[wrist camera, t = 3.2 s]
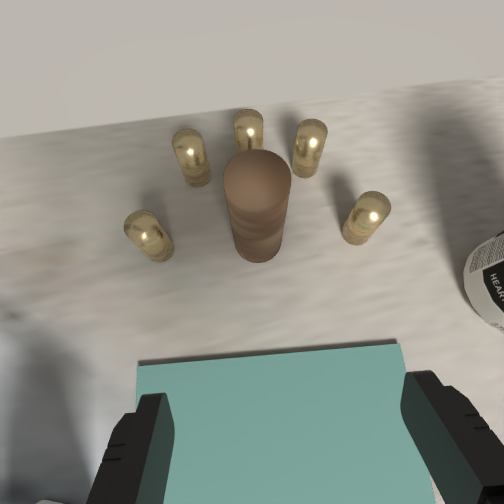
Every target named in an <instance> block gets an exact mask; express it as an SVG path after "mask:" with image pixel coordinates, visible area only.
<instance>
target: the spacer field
mask: <svg viewBox="0 0 504 504" xmlns="http://www.w3.org/2000/svg"><path fill="white" fill-rule="evenodd" d="M234 130H235V140H236V150H237V155H238V154H240V153H242V152H244V151H248V150H253V149H262V150H263V117H262V115H261V114H260V113H259V112H258V111H256V110H253V109H245V110H242V111H240V112H238V113H237V114H236V115H235V117H234ZM327 133H328V130H327V127H326V125H325V124H324V123H323V122H321V121H320V120H317V119H307V120H304V121H302V122H301V123H300V124H299V126H298V129H297V135H296V141H295V148H294V154H293V161H292V171H293V172H294V174H295V175H296V176H298V177H301V178H309V177H312V176H313V175H314V174H315V173H316V171H317V168H318V165H319V161H320V158H321V154H322V151H323V147H324V144H325V140H326V137H327ZM172 145H173V148H174V151H175V153H176V156H177V158H178V161H179V164H180V166H181V169H182V171H183V174H184V177H185V179H186V181H187V183H188V184H189V185H191V186H193V187H202V186H204V185H206V184H207V183H208V182H209V180H210V178H211V173H210V169H209V165H208V161H207V156H206V152H205V148H204V144H203V140H202V137H201V135H200V133H199V132H197V131H196V130H193V129H184V130H181V131H179V132H177V133H176V134H175V135H174V137H173V139H172ZM390 211H391V204H390V201H389V200H388V198H387V197H386V196H385V195H384V194H382V193H380V192H377V191H368V192H365V193H364V194H362V195H361V196H360V197H359V199H358V201H357V203H356V204H355V206H354V208H353V210H352V211H351V213H350V215H349V216H348V218H347V220H346V222H345V223H344V225H343V227H342V236H343V238H344V239H345V241H346V242H348V243H349V244H352V245H362V244H364V243H365V242H366V241H367V240H368V239H369V238H370V237H371V236H372V234H373V233H374V232H375V231H376V229H377V228H378V227H379V226H380V225H381V223H382V222H383V221H384V220H385V219H386V217H387V216H388V215H389V213H390ZM124 231H125V234H126V235H127V236H128V237H129V238H130V239H131V240H132V241H133V242H134V243H135V244H136V246H137V247H138V248H139V249H140V250H141V251H142V252H143V253H144V254H145V255H146V256H147V257H148V258H149V259H150V260H152V261H154V262H163V261H166V260H167V259H169V258H170V257H171V255H172V253H173V250H174V246H173V243H172V241H171V240H170V238H169V237H168V235H167V234H166V232H165V231H164V229H163V228H162V226H161V225H160V223H159V222H158V220H157V219H156V217H155V216H154V215H153V214H152V213H151V212H149V211H145V210H140V211H136V212H134V213H132V214H131V215H129V216H128V217H127V219H126V221H125V223H124Z"/></svg>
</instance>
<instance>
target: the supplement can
mask: <svg viewBox="0 0 504 504" xmlns="http://www.w3.org/2000/svg"><path fill="white" fill-rule="evenodd" d="M463 276H464V288H465V291H466V293H467V295H468V298H469V300H470V302H471V304H472V307H473V308H474V309H475V310H476V311H477V312H478V313H479V315H480V316H481V317H482V318H483V319H484V320H485V321H486V323H488V324H490V325H491V326H493V327H494V328H496V329H497V330H499V331H500V332H502V333H504V231H503V232H501V233H499V234H498V235H496V236H494V237H492V238H491V239H489V240H487V241H485V242H484V243H482V244H480V245H478V246H477V247H476V249H475V250H474V251H473V252H472V253H471V254H470V255H469V256H468V258H467V261H466V264H465V268H464V271H463Z"/></svg>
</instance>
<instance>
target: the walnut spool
mask: <svg viewBox="0 0 504 504" xmlns="http://www.w3.org/2000/svg"><path fill="white" fill-rule="evenodd" d="M223 184H224V190H225V195H226V200H227V205H228V210H229V215H230V221H231V226H232V231H233V236H234V241H235V246H236V249H237V251H238V253H239V254H240V255H241V256H242V257H243V258H244V259H246V260H248V261H250V262H254V263H262V262H266V261H268V260H270V259H272V258H273V257H274V256H275V255H276V254H277V253H278V251H279V249H280V246H281V240H282V234H283V229H284V223H285V217H286V211H287V205H288V199H289V193H290V187H291V172H290V169H289V167H288V165H287V163H286V162H285V161H284V160H283V159H282V158H281V157H280V156H278V155H277V154H275V153H273V152H271V151H267V150H262V149H253V150H248V151H244V152H242V153H240V154H238V155H237V156H235V157H234V158H233V159H232V160H231V161H230V162H229V163H228V165H227V166H226V168H225V171H224V174H223Z"/></svg>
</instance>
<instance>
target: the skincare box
mask: <svg viewBox="0 0 504 504" xmlns="http://www.w3.org/2000/svg"><path fill="white" fill-rule="evenodd" d="M36 504H63V503H59V502H53V501H49V500H41V501H39V502H37V503H36Z"/></svg>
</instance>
